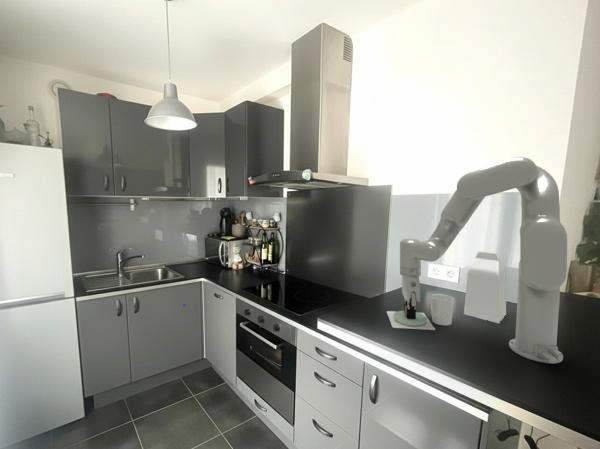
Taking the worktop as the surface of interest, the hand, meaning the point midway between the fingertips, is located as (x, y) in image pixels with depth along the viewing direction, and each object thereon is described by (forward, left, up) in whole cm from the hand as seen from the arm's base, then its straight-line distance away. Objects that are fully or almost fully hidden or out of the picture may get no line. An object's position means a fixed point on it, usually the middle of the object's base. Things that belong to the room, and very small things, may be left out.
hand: (409, 316), depth 106 cm
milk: (+10, -32, -2) cm, 33 cm away
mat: (0, 0, -2) cm, 2 cm away
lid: (0, 0, -1) cm, 1 cm away
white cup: (0, -12, -2) cm, 12 cm away
